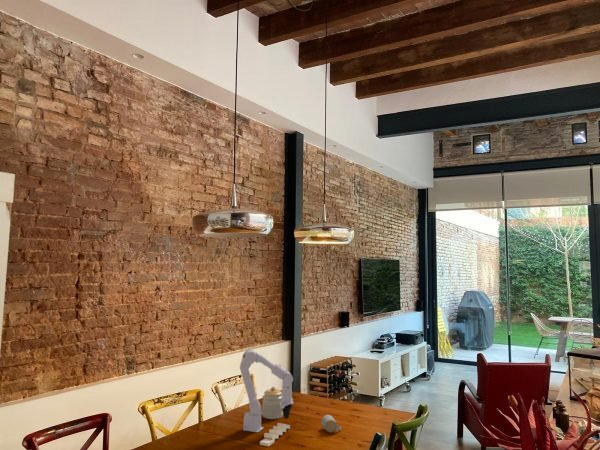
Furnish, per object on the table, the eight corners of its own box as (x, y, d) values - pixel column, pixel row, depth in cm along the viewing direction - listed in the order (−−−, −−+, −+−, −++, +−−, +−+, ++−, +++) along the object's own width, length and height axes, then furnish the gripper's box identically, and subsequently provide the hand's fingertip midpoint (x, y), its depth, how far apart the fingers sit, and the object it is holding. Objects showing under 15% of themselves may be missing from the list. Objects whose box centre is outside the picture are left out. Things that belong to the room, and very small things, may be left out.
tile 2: (277, 430, 258) (272, 429, 252) (278, 427, 259) (273, 425, 253) (285, 432, 256) (281, 431, 251) (286, 428, 257) (281, 427, 252)
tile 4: (270, 437, 248) (263, 437, 242) (270, 433, 249) (264, 433, 243) (278, 438, 246) (272, 438, 240) (278, 434, 247) (272, 434, 241)
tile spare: (266, 441, 244) (259, 445, 237) (266, 437, 244) (260, 441, 237) (274, 442, 242) (268, 447, 235) (274, 438, 242) (268, 443, 235)
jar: (280, 420, 276) (280, 390, 278) (259, 418, 279) (260, 388, 280) (285, 413, 289) (285, 385, 290) (265, 412, 291) (266, 383, 293)
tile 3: (273, 433, 253) (268, 432, 247) (274, 430, 254) (269, 428, 248) (282, 435, 251) (277, 434, 245) (282, 431, 252) (278, 430, 246)
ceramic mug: (325, 433, 255) (325, 419, 256) (320, 428, 263) (321, 414, 264) (343, 432, 258) (343, 418, 258) (338, 427, 266) (338, 414, 266)
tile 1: (281, 427, 263) (276, 426, 257) (282, 424, 264) (277, 422, 258) (289, 429, 261) (285, 427, 256) (290, 425, 262) (285, 424, 256)
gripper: (288, 397, 257) (288, 422, 256) (297, 391, 270) (297, 415, 269) (277, 396, 259) (276, 421, 258) (286, 390, 273) (286, 413, 272)
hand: (286, 418), depth 264 cm, fingers closed
